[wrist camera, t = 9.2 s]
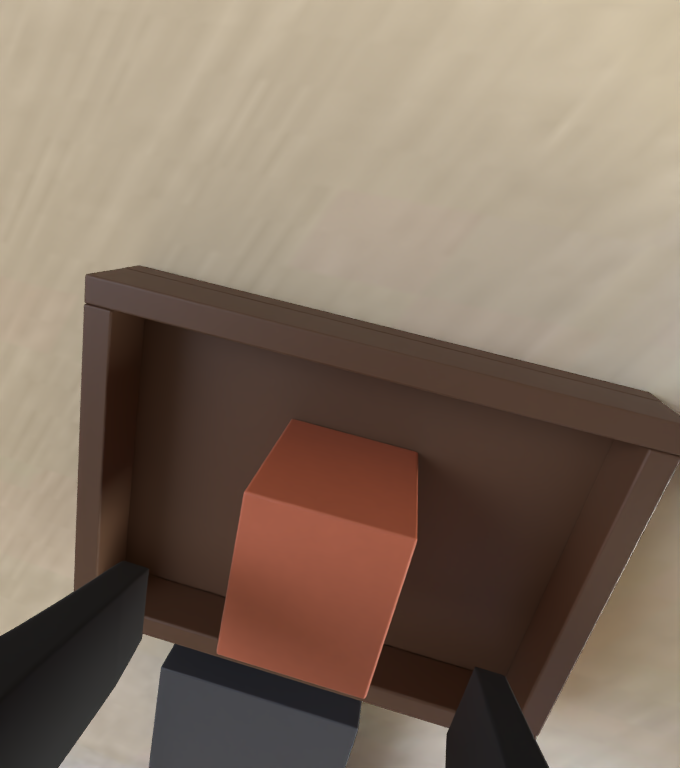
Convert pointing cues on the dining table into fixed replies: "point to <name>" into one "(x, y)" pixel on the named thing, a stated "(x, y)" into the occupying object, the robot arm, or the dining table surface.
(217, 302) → the tray
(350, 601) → the terracotta block
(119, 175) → the dining table surface
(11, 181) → the dining table surface
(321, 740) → the base block
